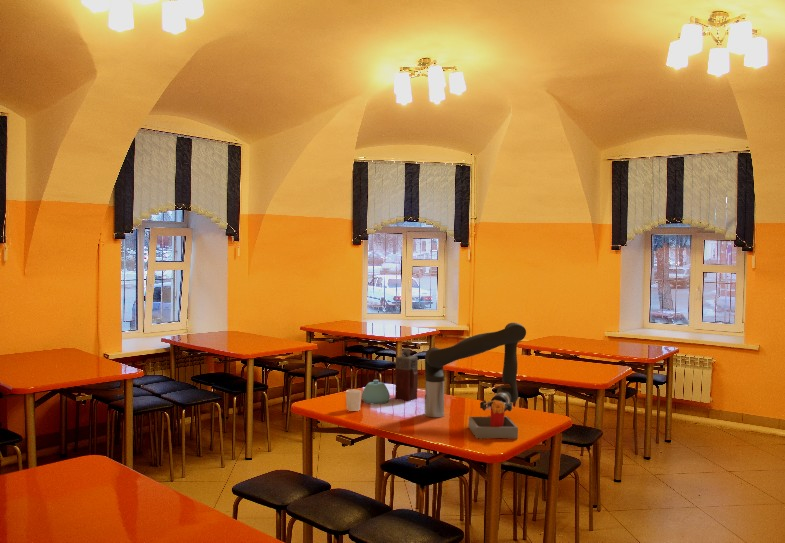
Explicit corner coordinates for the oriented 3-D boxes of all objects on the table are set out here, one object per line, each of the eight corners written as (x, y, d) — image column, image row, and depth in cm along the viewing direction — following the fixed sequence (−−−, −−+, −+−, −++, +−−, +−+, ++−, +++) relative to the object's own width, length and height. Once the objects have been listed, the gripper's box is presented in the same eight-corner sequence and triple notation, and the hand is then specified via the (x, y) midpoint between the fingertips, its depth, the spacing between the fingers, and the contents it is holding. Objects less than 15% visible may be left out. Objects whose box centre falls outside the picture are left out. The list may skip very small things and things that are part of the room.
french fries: (487, 425, 280) (490, 398, 278) (496, 425, 282) (498, 398, 279) (496, 434, 272) (498, 406, 269) (505, 434, 273) (507, 406, 270)
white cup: (355, 413, 309) (355, 393, 308) (342, 410, 313) (342, 391, 312) (364, 410, 315) (364, 390, 315) (351, 407, 319) (351, 388, 319)
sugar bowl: (373, 396, 345) (373, 376, 345) (395, 400, 336) (395, 379, 336) (356, 401, 333) (356, 380, 333) (378, 406, 324) (378, 384, 324)
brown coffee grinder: (412, 401, 334) (413, 350, 333) (395, 399, 340) (395, 348, 339) (420, 398, 342) (421, 348, 341) (403, 396, 348) (404, 346, 347)
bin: (476, 439, 267) (476, 427, 267) (468, 427, 285) (469, 416, 285) (517, 438, 269) (517, 427, 269) (507, 427, 287) (507, 416, 286)
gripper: (485, 392, 297) (477, 399, 282) (515, 395, 292) (508, 402, 277) (485, 407, 297) (477, 415, 282) (515, 411, 292) (508, 419, 277)
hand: (493, 409), depth 280 cm, fingers open, 8 cm apart
